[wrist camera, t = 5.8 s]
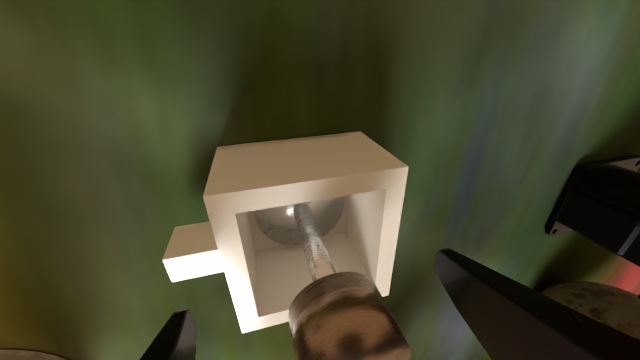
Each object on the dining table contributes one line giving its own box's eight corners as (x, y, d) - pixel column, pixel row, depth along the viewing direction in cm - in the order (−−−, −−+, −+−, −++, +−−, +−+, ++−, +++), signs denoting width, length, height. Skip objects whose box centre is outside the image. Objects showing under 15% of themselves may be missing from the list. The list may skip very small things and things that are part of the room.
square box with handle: (360, 131, 13) (408, 166, 9) (354, 236, 16) (388, 295, 12) (164, 152, 11) (120, 208, 7) (203, 267, 14) (187, 347, 10)
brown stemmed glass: (340, 159, 13) (455, 293, 6) (339, 230, 15) (422, 390, 8) (248, 171, 12) (252, 349, 5) (261, 245, 14) (277, 442, 7)
